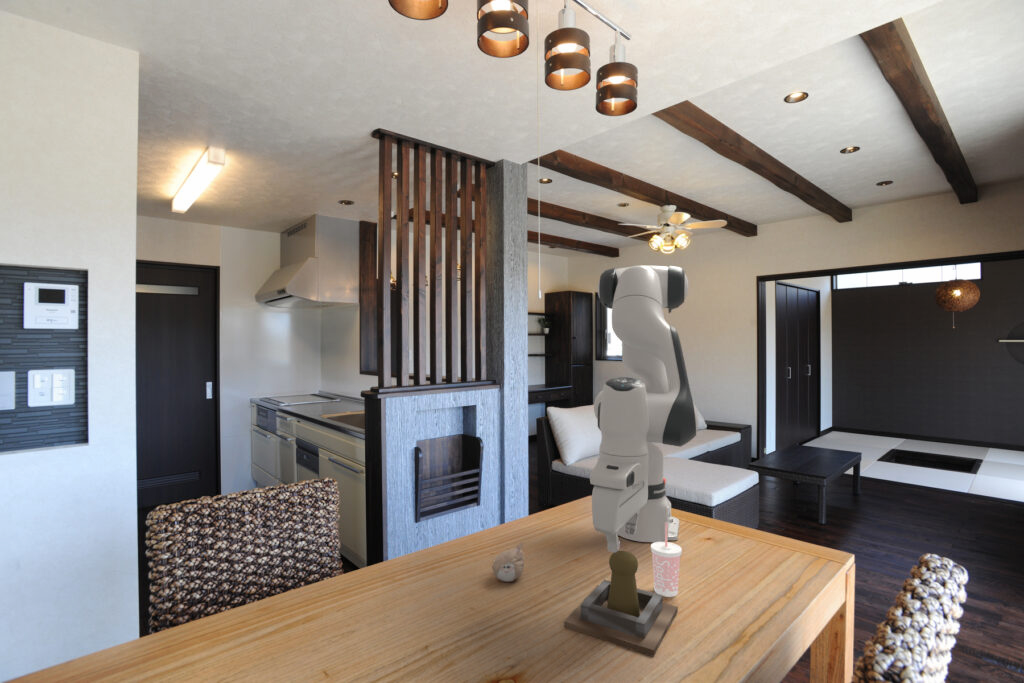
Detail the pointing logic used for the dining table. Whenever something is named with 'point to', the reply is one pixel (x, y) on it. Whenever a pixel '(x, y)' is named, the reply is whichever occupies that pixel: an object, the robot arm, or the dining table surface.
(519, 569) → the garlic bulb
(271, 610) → the dining table surface
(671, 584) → the beverage cup
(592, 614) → the socket base
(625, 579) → the olive pawn peg
